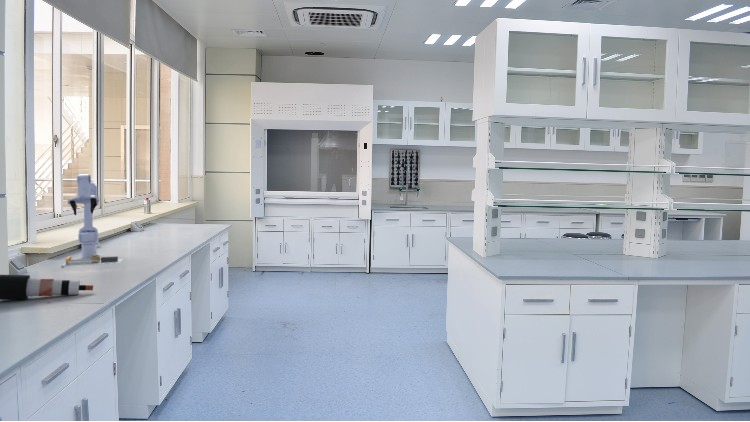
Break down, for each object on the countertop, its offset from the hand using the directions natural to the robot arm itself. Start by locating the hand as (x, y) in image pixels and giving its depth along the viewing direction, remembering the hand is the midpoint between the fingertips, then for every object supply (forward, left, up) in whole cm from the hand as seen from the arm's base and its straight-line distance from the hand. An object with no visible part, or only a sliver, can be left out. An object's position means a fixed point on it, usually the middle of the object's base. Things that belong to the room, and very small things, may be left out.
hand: (83, 213), depth 271 cm
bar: (-12, +9, -28) cm, 32 cm away
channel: (-12, +1, -29) cm, 31 cm away
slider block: (-12, +2, -28) cm, 30 cm away
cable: (+58, -4, -30) cm, 65 cm away
